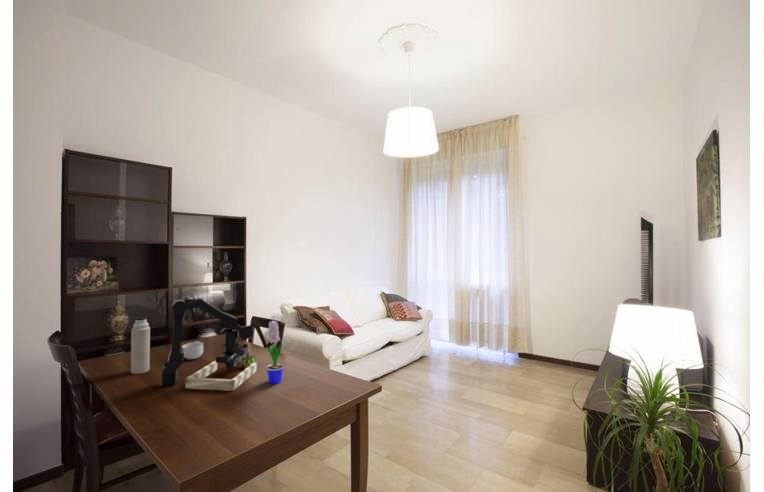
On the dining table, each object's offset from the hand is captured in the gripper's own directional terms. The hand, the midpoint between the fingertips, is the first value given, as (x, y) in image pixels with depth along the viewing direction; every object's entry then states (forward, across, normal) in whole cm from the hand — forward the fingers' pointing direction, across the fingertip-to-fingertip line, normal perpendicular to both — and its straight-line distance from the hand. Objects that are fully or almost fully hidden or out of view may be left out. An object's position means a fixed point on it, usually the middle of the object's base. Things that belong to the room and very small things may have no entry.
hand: (230, 370), depth 176 cm
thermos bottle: (+2, -1, +48) cm, 48 cm away
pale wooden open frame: (+2, -7, 0) cm, 7 cm away
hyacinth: (+2, -7, -27) cm, 28 cm away
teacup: (+2, +23, +34) cm, 41 cm away
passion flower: (+2, +12, -2) cm, 13 cm away
